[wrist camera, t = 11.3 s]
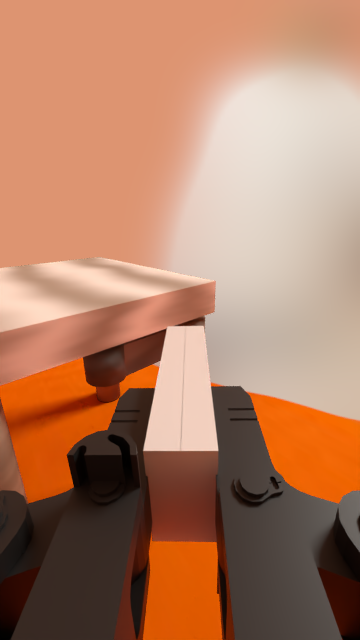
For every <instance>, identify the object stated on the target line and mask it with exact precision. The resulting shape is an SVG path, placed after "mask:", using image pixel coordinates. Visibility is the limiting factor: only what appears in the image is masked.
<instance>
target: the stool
mask: <svg viewBox="0 0 360 640" xmlns="http://www.w3.org/2000/svg"><path fill="white" fill-rule="evenodd" d="M215 283H216V281H213V280H208V279H204V278H199V277H193V276H189V275H184V274H179V273H174V272H169V271H165V270H160V269H155V268H150V267H145V266H140V265H135V264H130V263H125V262H121V261H116V260H111V259H106V258H101V257H97V258H87V259H79V260H70V261H61V262H52V263H43V264H34V265H25V266H17V267H8V268H0V385H3V384H6V383H9V382H12V381H15V380H18V379H21V378H24V377H27V376H30V375H32V374H35V373H38V372H41V371H44V370H47V369H50V368H53V367H56V366H59V365H62V364H64V363H67V362H70V361H73V360H76V359H79V358H82V357H85V356H88V355H91V354H94V353H96V352H99V351H102V350H105V349H108V348H111V347H114V346H117V345H120V344H123V343H126V342H129V341H131V340H134V339H137V338H140V337H143V336H146V335H149V334H152V333H155V332H158V331H161V330H163V329H166V328H167V327H168V326H175V325H178V324H181V323H184V322H187V321H190V320H193V319H196V318H198V317H201V316H204V315H207V314H210V313H213V312H214V309H215ZM96 392H97V399H98V400H99V401H101V402H112V401H114V400H116V399H118V398H119V396H120V387H119V383H118V384H116V385H113V386H108V387H96ZM2 490H11V491H17V492H18V493H20V494H22V495H23V496H24V498H25V500H26V503H27V504H28V501H27V497H26V494H25V490H24V486H23V482H22V478H21V475H20V471H19V467H18V463H17V460H16V456H15V452H14V448H13V445H12V441H11V437H10V433H9V430H8V426H7V422H6V418H5V415H4V411H3V407H2V403H1V399H0V491H2Z"/></svg>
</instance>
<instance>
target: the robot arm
mask: <svg viewBox="0 0 360 640" xmlns="http://www.w3.org/2000/svg"><path fill="white" fill-rule="evenodd" d="M67 458H68V462H69V467H70V471H71V476H72V480H73V484H74V487H73V488H72V489H70V490H68V491H67V492H64V493H61V494H59V495H56V496H53V497H49V498H46V499H43V500H39V501H36V502H32V503H29V504H27V503H26V500H25V498H24V496H23V495H22V494H20V493H18V492H17V491H11V490H2V491H0V640H143V631H144V622H145V613H146V604H147V595H148V585H149V576H150V562H149V547H150V538H151V532H152V541H195V542H217V551H218V577H217V594H219V598H220V612H221V625H222V639H223V640H360V491H352V492H350V493H348V494H346V495H344V496H343V497H342V499H341V501H340V503H339V504H337V503H334V502H331V501H327V500H324V499H321V498H317V497H314V496H311V495H308V494H305V493H303V492H300V491H298V490H297V489H295V488H293V487H292V486H290V485H289V484H288V483H287V482H285V480H284V479H283V477H282V476H281V475H280V474H279V473H278V472H277V471H276V470H275V469H274V467H273V464H272V462H271V459H270V456H269V453H268V450H267V447H266V444H265V441H264V437H263V434H262V431H261V428H260V425H259V422H258V421H257V416H256V413H255V411H254V406H253V403H252V400H251V397H250V396H249V395H248V394H247V393H246V392H245V391H244V389H243V388H242V387H240V386H221V387H211V383H210V375H209V367H208V358H207V350H206V342H205V332H204V326H168V327H167V331H166V336H165V341H164V346H163V352H162V357H161V362H160V367H159V372H158V377H157V382H156V388H130V389H129V390H127V391H126V392H125V393H124V394H123V395H122V396H121V397H120V398H119V401H118V404H117V406H116V409H115V413H114V414H113V417H112V420H111V423H110V425H109V428H108V430H105V431H98V432H96V433H93V434H91V435H88V436H86V437H84V438H83V439H82V440H80V441H79V442H78V443H76V444H75V445H74V446H73V447H72V449H71V450H70V451H69V453H68V454H67Z"/></svg>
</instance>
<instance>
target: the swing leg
mask: <svg viewBox="0 0 360 640" xmlns="http://www.w3.org/2000/svg"><path fill="white" fill-rule="evenodd" d="M175 326H204V332H205V317H204V316H201V317H198V318H196V319H193V320H190V321H187V322H184V323H181V324H178V325H175ZM166 331H167V328H166V329H163V330H161V331H158V332H155V333H152V334H149V335H146V336H143V337H140V338H137V339H134V340H131V341H129V342H126V343H123V344H120V345H117V346H114V347H111V348H108V349H105V350H102V351H99V352H96V353H94V354H91V355H88V356H85V357H83V361H84V368H85V375H86V381H87V383H88V384H90V385H92V386H95V387H108V386H113V385H116V384H118V383H120V382H121V381H123V380H124V379H125V377H126V376H127V375H129V374H131V373H134V372H136V371H138V370H140V369H143V368H145V367H147V366H149V365H152V364H154V363H156V362H158V361H161V357H162V352H163V346H164V341H165V336H166Z"/></svg>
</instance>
